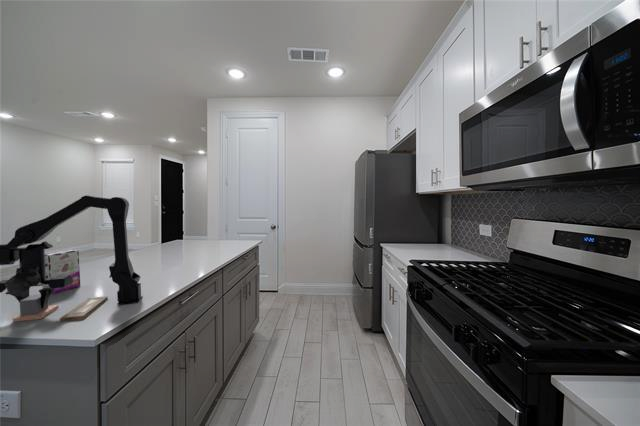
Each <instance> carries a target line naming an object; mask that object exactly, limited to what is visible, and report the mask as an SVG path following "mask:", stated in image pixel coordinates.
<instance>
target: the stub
mask: <svg viewBox="0 0 640 426" xmlns="http://www.w3.org/2000/svg"><path fill="white" fill-rule="evenodd" d="M57 309H59V305H58V304H57V305H54V304H53V305H49V301H48V302H47V304H46V306H45V308H41V294H40V293H35V294H31V295H29V297H27V298H25V299H23V300H21V301H20V303H19V313H20V314H18V315H17V316H15V317H13V318H12V322H22V321H32V320H40V319H43V318H45V317H46V316H49V314H51V313H54V311H56V310H57Z"/></svg>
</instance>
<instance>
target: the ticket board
mask: <svg viewBox="0 0 640 426" xmlns="http://www.w3.org/2000/svg"><path fill="white" fill-rule="evenodd" d="M106 301H108V296H98V297H96V296H95V297H89V298H87V299H85V300H84V301H82V302H81V303H79V304H78V305H76V306H75V307H74V308H72V309H71V310H70V311H68V312H67V313H65V314H64V315H62V316H60V318H59V322H60V323H62V322H71V321H81V320H85V319H86V318H87V317H88V316H90V315H91V314H92V313H94V312H95V310H97V309H98V308H99V307H101V306H102V305H103V304H104V303H105V302H106Z"/></svg>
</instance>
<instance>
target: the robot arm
mask: <svg viewBox="0 0 640 426" xmlns="http://www.w3.org/2000/svg"><path fill="white" fill-rule="evenodd" d="M129 203H130V202H129V201H128V199H126V198H124V197H122V196H121V197H120V196H114V197H111V198H109V197H107V198H106V197H98V196H94V195H84V196H81V197H80V198H79V199H77V200H76V201H73V202H71V203H70V204H68V205H67V206H65V207H63V208H62V209H60V210H58V211H56V212H54V213H53V214H50V215H48V216H47V217H45V218H42V219H40V220H38V221H34V222H32V223H28V224H25V225H23V226H20V227H19V228H17V229H16V230H15V231H14V237H12V238H11V240H10V241H9V242H8V243H6V244H5V243H3V244H1V243H0V266H10V265H14V264H15V262H18V261H19V262H18V263H19V267H17V268H16V271H15V274H14V275H13V276H12V277H10V278H9V279H1V280H0V293H3V292H4V291H5V290H6V292H5V295H10V296H13V297H14V298H15V299H16V300H17V301H18V303H19V304H20V301H21V300H23V299H25V298H27V297H29V296H30V288H31V287H42V288H41V289H39V290H38V292H39V294H41V308H45V306H46V304H47V302H48V303H49V300H50V298H51V295H53V294H52V293H53V291H54V290H55V288H62V287H65V286H67V285H69V284H71V283H73V278H72V276H70V275H66V276H57V277H55V278H53V279H49V280H46V279H47V278H48V275H46V272H45V267H47V266H48V263H46V264H45V254H46V252H45V250H49V249H52V248H53V247H54V246H53V245H52V244H50V243H49V242H47V241H46V240H45V241H43V240H44V239H45V238H46V237H48V236H49V235H50V234H51V233H53V231H54V230H55V229H56V228H58V227H59V226H60V225H62V224H64V223H66V222H67V221H69V220H71V219H73V218H74V217H76V216H78V215H79V214H81V213H83V212H84V211H86V210H88V209H89V208H97V209H104V210H107V213H108V216H109V219H110V220H111V223H112V234H113V235H112V236H113V249H114V262H112V264H110V266H108V268H109V273H110V274H109V277H108V278H109V279H111V280H112V282H113V283H115V284H117V286H118V290H117V293H116V295H117V296H116V298H117V306H121V305H130V304H131V305H133V304H138V303H140V302H141V300H142V299H143V298H144V297H143V295H142V283H141V282H140V280H141V275H139V274H138V273H136V272H135V271H134V268H133V263H132V262H131V259H130V257H129V245H128V244H129V243H128V231H127V230H128V229H127V219H128V213H129V208H130V204H129ZM40 241H42V242H41V243H36V242H40ZM33 243H34V244H33ZM35 243H36V244H35ZM25 245H27V246H25ZM23 246H25V247H23ZM139 282H140V283H139Z"/></svg>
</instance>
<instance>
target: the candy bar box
mask: <svg viewBox="0 0 640 426" xmlns="http://www.w3.org/2000/svg"><path fill="white" fill-rule="evenodd" d="M79 252H80V251H79V250H78V249H68V250H61V251H57V252H56V251H54V252H49V253H45V264H46V263H48V266H47V267H45V272H46V275H48V278H47V279H46V280H49V279H53V278H55V277H57V276H66V275H70V276H72V278H73V283H71V284H69V285H67V286H65V287H62V288H55V290H54V291H53V293H52V294H51V295H54V294H58V293H61V292H64V291H69V290H71V289H75V288H78V287H81V274H80V273H81V272H80V271H81V270H80V255H79Z"/></svg>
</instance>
